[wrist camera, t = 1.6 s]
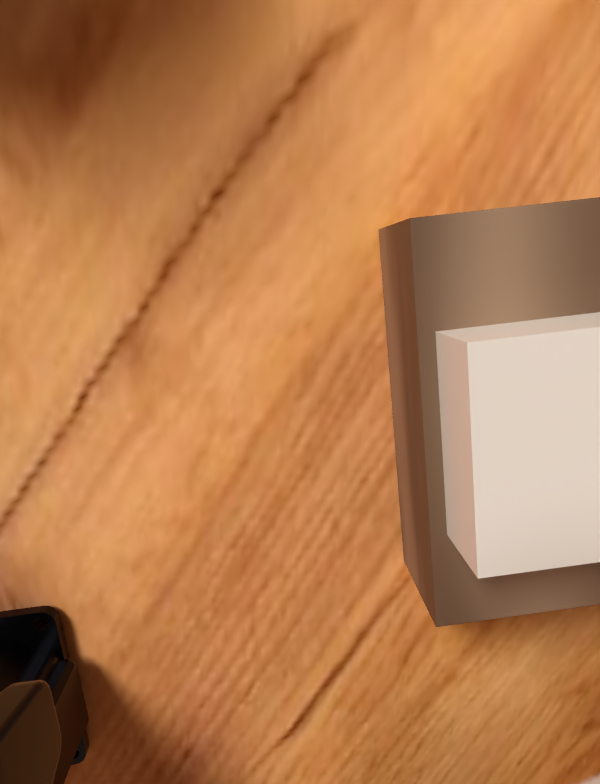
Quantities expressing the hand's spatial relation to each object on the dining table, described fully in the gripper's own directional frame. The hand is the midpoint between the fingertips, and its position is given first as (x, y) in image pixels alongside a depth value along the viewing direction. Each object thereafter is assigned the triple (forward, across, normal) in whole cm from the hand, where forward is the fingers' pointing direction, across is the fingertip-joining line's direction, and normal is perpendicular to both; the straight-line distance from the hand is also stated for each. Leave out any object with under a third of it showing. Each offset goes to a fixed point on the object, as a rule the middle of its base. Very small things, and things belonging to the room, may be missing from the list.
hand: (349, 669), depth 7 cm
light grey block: (+7, -8, 0) cm, 11 cm away
